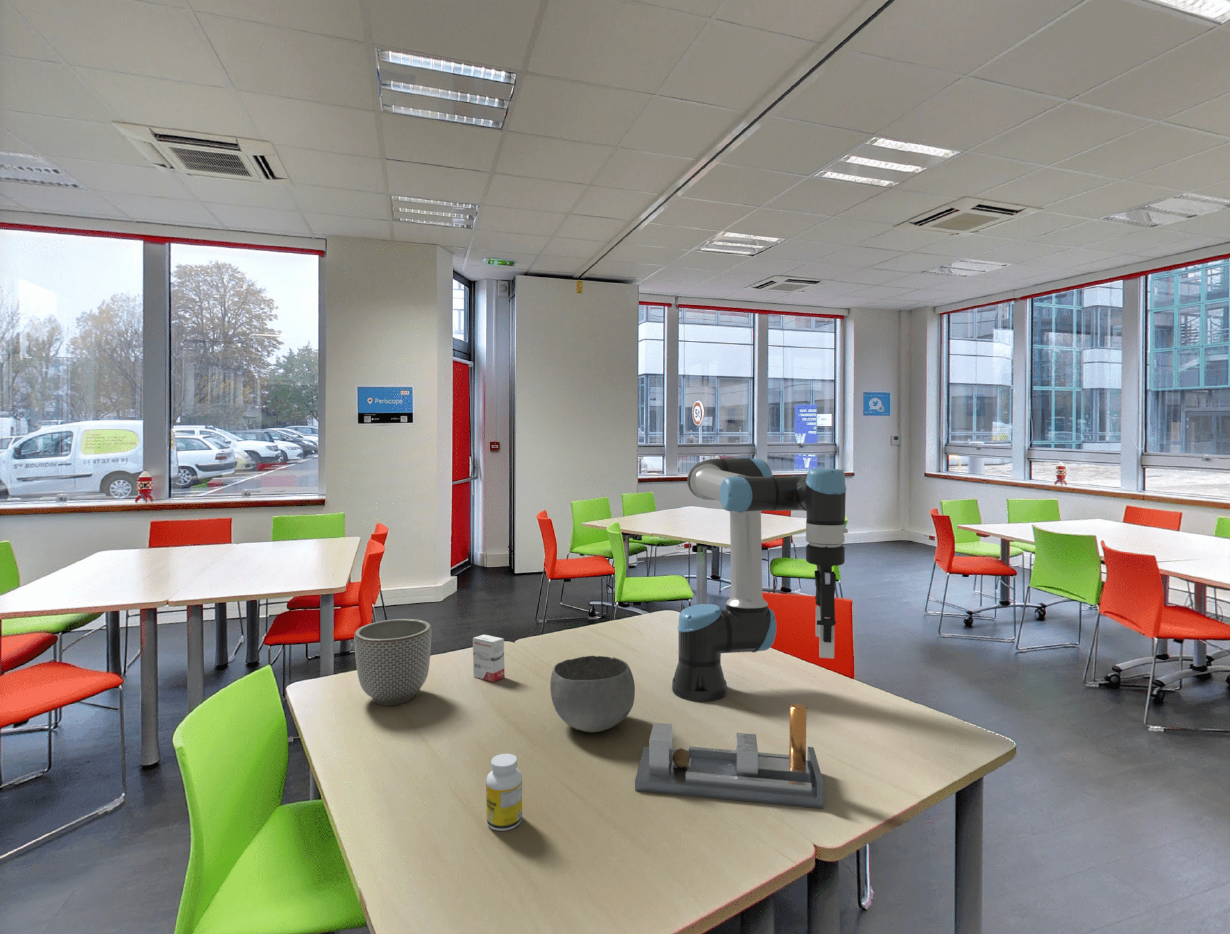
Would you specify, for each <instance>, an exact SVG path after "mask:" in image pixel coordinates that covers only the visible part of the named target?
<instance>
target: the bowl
mask: <svg viewBox="0 0 1230 934" xmlns="http://www.w3.org/2000/svg"><path fill="white" fill-rule="evenodd" d="M633 675H634V674H633V673H632V670H631V667H630V666H629V664H628V663H627V662H626V661H624V660H622V659H619V658H617V657H613V656H612V657H610V656H604V655H603V656H601V655H597V656H596V655H586V656H581V657H576V658H572V659H566V660H565V659H564V660H562V661H561V662H558V663H556V664H555V665H554V667H553V670H552V672H551V676H550V682H549V683H550V685H549V686H550V690H549V691H550V697H551V702H552V705H553V707H554V710H555V712H556V713H557V715H558V716H559V717H560V719H561V720H562V722H564V723H565V724H567V725H568V726H570V727H571V728H573V729H575V730H577V731H581V732H583V733H584V732H585V733H588V734H589V733H590V734H591V733H592V734H593V733H594V734H595V733H600V732H603V731H607V730H608V729H611V728H614V727H615V726H617V725H619V724H620V723H621V722H622V721H624V719H626V718H627V717H628V716H629V714H630V712H631V711H632V708H633V706H634V703H635V695H636V694H635V692H636V688H635V679H634V676H633Z"/></svg>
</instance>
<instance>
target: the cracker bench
mask: <svg viewBox="0 0 1230 934" xmlns="http://www.w3.org/2000/svg"><path fill="white" fill-rule="evenodd" d="M648 743H649V744H648V746H643V749H642V753H641V757H640V760H639V764H638V768H637V772H636V775H635V779H634V791H637V792H649V793H659V794H667V795H679V796H689V797H699V798H707V799H709V798H710V799H719V800H720V799H721V800H729V801H738V802H739V801H740V802H750V803H761V804H769V805H779V806H780V805H781V806H790V807H791V806H792V807H793V806H794V807H802V808H812V809H821V810H823V809H824V797H825V796H824V790H825V786H824V785H825V783H824V780H823V777H822V776H823V775H822V773H821V772H822V771H821V769H820V766H819V762H818V758H817V754H816V751H815V747H813V746H807V757H806V761H807V765H808V769H809V783H807V782H796V781H785V780H774V779H763V778H752V777H741V776H737V764H736V749H735V750H734V749H722V748H712V747H711V748H710V747H701V746H700V747H699V746H698V747H697V746H689V747H688V750H687V749H685V750H686V751H687V752H688V753H689V755H690V762H689V764H688V765H687V766H686V767H684V768H680V767H677V766H676V765H675V764H674V762H673V754H674V752H675V751H676V750H677V749H676V748H675V749H674V748H673V724H672V723H665V722H663V723H662V722H661V723H660V722H653V724H652V729H651V732H650V735H649V740H648ZM758 756H761V757H773V758H785V759H789V754H783V753H782V754H781V753H772V752H759V751H758Z"/></svg>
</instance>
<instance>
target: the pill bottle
mask: <svg viewBox="0 0 1230 934" xmlns="http://www.w3.org/2000/svg"><path fill="white" fill-rule="evenodd" d="M517 767H518V758H517V756H516V755H514V754H511V753H500V754H497V755H495V756H493V757H492V759H491V762H490V769H491V771H490V772H488V774H487V776H486V778H485V779H486V782H485V783H486V784H485V787H486V789H485V790H486V798H485V799H486V824H487V825H488V827H489V828H490V829H492V830H495V831H499V832H506V831H511V830H513V829H515V828H516V827H517V826H518V825H520V823H521V822H522V820H523V775H522V772H521V771H520V769H518V768H517Z"/></svg>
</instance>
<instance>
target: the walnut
mask: <svg viewBox="0 0 1230 934" xmlns="http://www.w3.org/2000/svg"><path fill="white" fill-rule="evenodd" d="M686 750H687V749H684V748H678V749H676V751H675V752H674V754H673V762H674V764H675V765H676V766H677V767H680V768H684V767H686V766H687V765H688V764H689V762H690V755H689V753H688V752H687V751H686Z"/></svg>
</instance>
